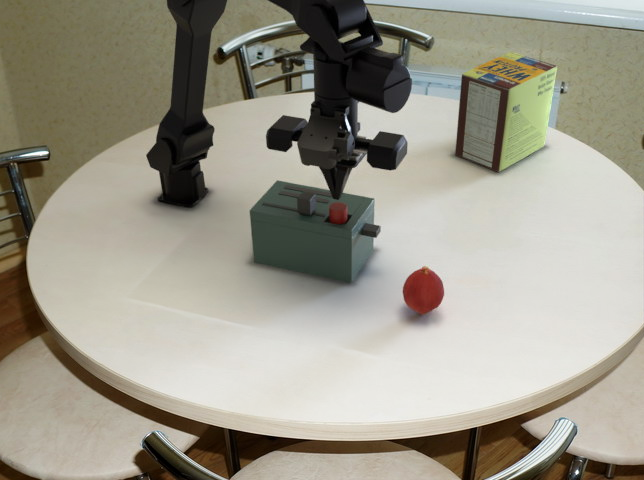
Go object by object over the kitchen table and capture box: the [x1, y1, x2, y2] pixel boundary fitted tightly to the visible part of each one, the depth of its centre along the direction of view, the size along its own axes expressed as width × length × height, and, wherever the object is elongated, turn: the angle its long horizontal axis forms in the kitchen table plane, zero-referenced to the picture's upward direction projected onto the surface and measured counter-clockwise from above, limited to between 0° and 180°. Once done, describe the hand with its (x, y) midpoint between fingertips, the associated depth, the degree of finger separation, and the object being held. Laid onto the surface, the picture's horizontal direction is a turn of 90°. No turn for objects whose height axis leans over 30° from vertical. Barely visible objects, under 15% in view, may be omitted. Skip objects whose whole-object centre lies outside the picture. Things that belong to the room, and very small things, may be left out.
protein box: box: [454, 51, 558, 173], centre depth 156 cm, size 10×15×16 cm
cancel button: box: [329, 202, 347, 225], centre depth 123 cm, size 3×3×2 cm
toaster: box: [249, 179, 382, 284], centre depth 129 cm, size 18×10×9 cm, turn 71°
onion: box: [402, 265, 445, 316], centre depth 119 cm, size 6×6×8 cm
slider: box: [297, 191, 316, 215], centre depth 124 cm, size 2×2×2 cm
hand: (337, 198), depth 122 cm, fingers closed
